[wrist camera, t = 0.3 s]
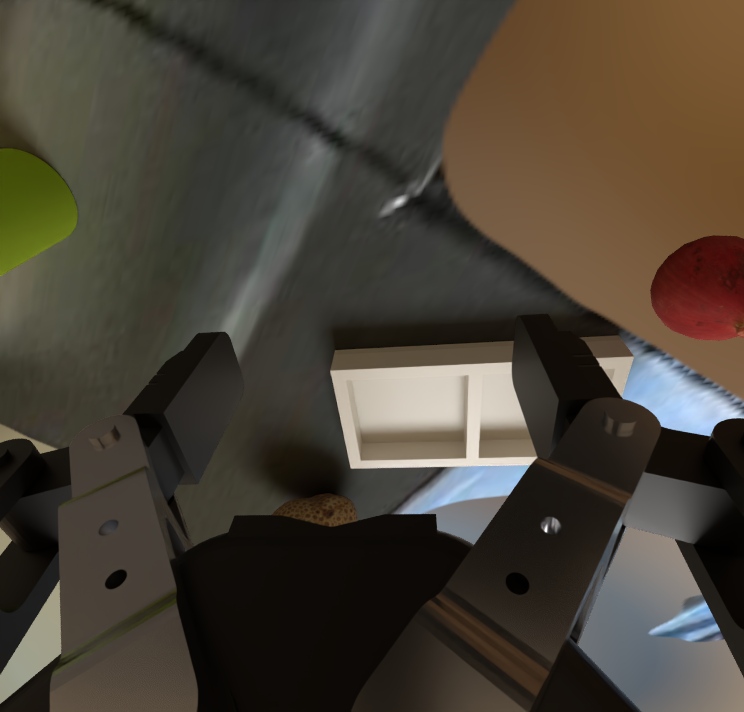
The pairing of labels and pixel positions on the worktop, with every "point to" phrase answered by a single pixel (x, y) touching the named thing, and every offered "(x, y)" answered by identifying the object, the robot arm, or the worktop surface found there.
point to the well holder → (443, 403)
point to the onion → (702, 289)
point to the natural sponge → (320, 509)
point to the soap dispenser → (31, 208)
